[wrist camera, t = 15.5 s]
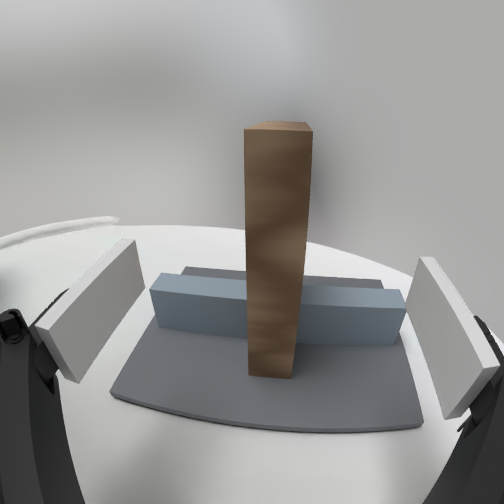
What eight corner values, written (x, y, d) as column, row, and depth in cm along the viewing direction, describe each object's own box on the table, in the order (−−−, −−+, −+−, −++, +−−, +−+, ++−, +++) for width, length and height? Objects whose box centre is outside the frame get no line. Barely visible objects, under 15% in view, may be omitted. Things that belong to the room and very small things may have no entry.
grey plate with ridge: (112, 396, 18) (89, 354, 15) (186, 270, 33) (181, 234, 31) (420, 426, 15) (450, 387, 13) (379, 284, 30) (387, 247, 28)
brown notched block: (248, 375, 20) (244, 129, 12) (264, 294, 28) (266, 121, 21) (290, 379, 19) (312, 131, 12) (295, 297, 28) (306, 122, 20)
